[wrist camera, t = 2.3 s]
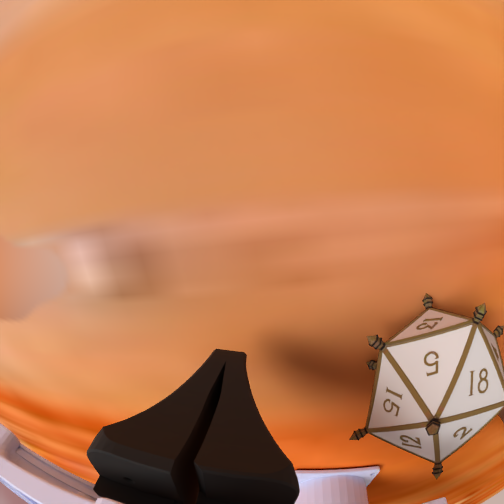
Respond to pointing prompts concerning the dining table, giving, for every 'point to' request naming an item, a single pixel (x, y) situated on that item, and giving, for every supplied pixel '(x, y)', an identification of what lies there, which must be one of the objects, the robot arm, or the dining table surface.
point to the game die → (435, 384)
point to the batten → (501, 414)
